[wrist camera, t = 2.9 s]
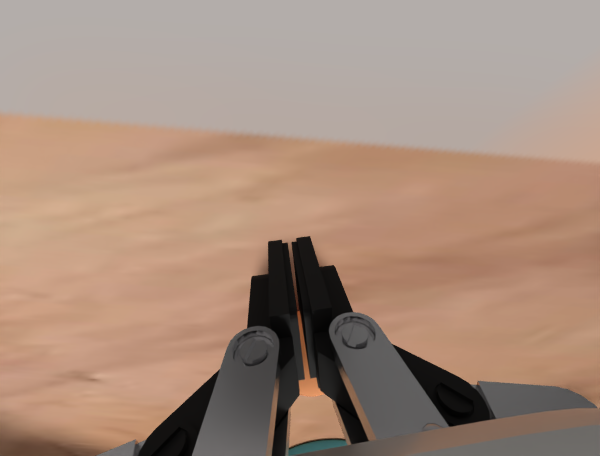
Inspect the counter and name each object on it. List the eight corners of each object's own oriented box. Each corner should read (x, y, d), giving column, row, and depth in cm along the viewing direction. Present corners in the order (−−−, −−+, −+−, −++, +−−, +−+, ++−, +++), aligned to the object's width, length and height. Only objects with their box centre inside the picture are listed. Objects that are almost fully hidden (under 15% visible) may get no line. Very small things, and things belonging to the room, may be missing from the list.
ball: (338, 289, 20) (360, 352, 15) (339, 339, 22) (358, 408, 17) (266, 298, 19) (264, 365, 15) (275, 348, 22) (276, 420, 17)
